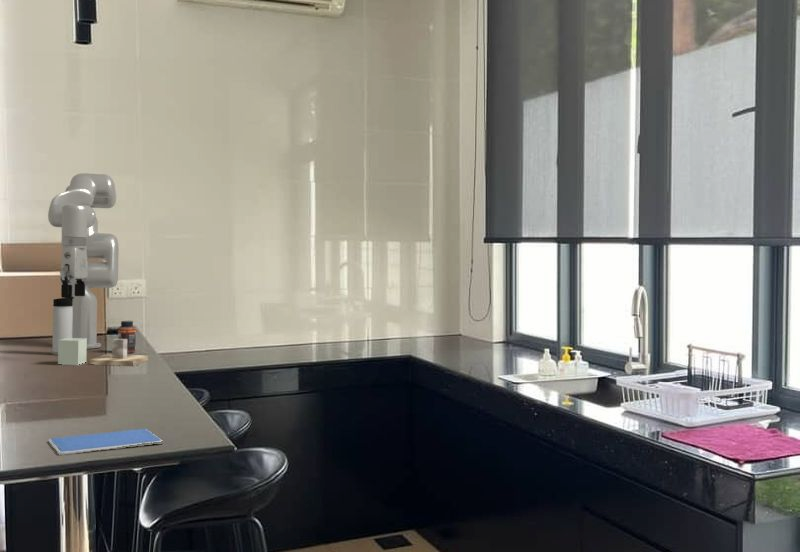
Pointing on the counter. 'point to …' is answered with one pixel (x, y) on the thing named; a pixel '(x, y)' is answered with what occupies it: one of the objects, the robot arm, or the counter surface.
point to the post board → (119, 361)
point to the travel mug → (62, 321)
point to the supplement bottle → (128, 335)
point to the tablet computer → (102, 441)
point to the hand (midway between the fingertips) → (73, 296)
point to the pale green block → (72, 351)
